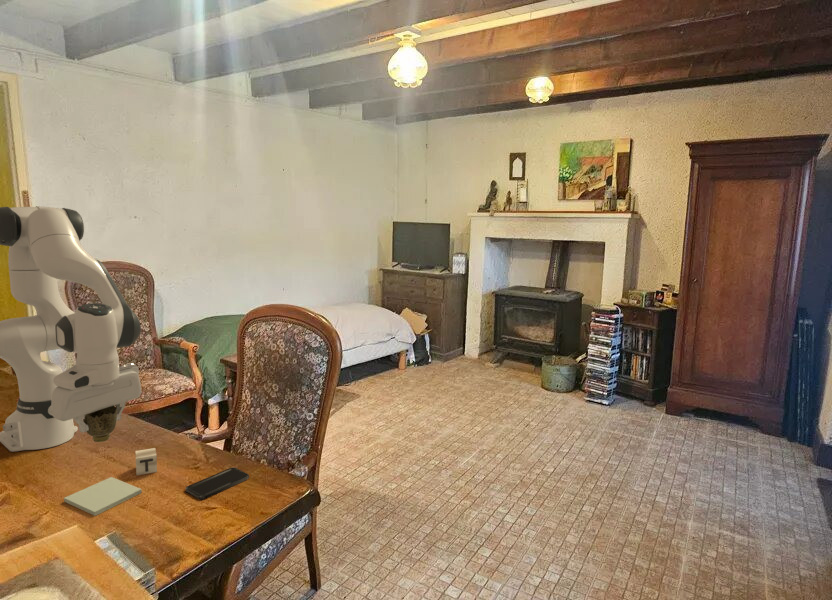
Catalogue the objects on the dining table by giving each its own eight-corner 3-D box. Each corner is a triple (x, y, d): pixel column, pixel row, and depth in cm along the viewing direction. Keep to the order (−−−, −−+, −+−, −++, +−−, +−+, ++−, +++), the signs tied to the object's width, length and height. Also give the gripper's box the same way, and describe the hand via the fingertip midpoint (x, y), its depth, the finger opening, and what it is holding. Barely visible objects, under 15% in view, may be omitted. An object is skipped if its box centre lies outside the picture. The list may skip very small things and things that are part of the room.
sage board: (64, 501, 125) (64, 497, 125) (111, 480, 136) (111, 476, 136) (94, 515, 120) (94, 512, 120) (141, 492, 131) (141, 489, 131)
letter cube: (136, 467, 144) (135, 451, 143) (155, 464, 146) (155, 447, 145) (136, 476, 139) (135, 458, 138) (157, 472, 142) (156, 455, 141)
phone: (183, 487, 133) (233, 466, 145) (183, 491, 133) (233, 470, 146) (201, 498, 129) (250, 475, 141) (201, 502, 129) (250, 479, 141)
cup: (102, 448, 122) (100, 416, 120) (76, 444, 123) (73, 413, 122) (125, 435, 129) (124, 405, 128) (100, 432, 130) (98, 402, 129)
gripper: (129, 359, 134) (131, 409, 136) (45, 379, 116) (49, 437, 118) (146, 363, 131) (147, 414, 133) (62, 385, 113) (65, 443, 115)
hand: (100, 425), depth 126 cm, fingers closed on cup, 6 cm apart
